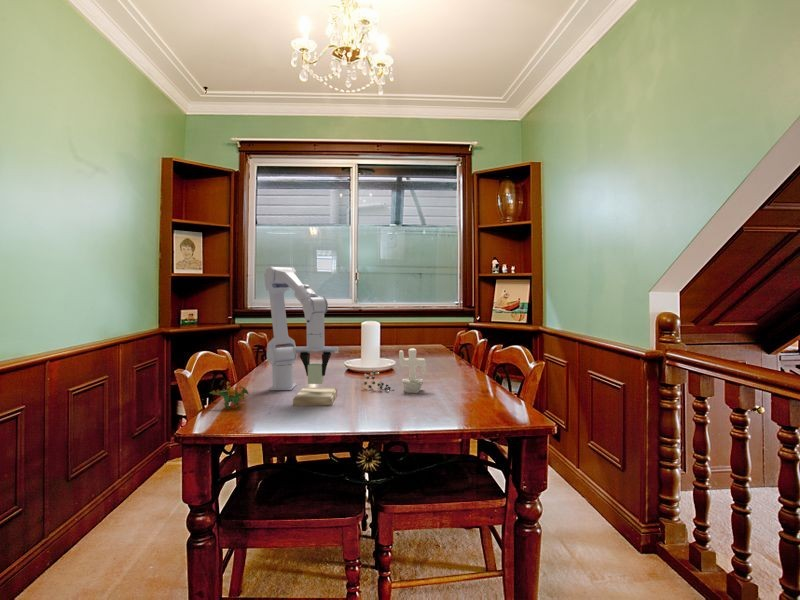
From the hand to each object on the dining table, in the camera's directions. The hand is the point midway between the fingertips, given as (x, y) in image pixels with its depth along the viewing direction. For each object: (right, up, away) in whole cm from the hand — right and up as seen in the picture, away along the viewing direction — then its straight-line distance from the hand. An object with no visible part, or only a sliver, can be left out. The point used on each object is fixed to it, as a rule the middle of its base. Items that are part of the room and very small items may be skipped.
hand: (315, 375), depth 148 cm
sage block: (0, -2, 0) cm, 2 cm away
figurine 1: (-25, -9, -9) cm, 28 cm away
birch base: (0, -8, 0) cm, 8 cm away
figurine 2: (+32, -8, +12) cm, 35 cm away
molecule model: (+19, -8, +13) cm, 25 cm away
